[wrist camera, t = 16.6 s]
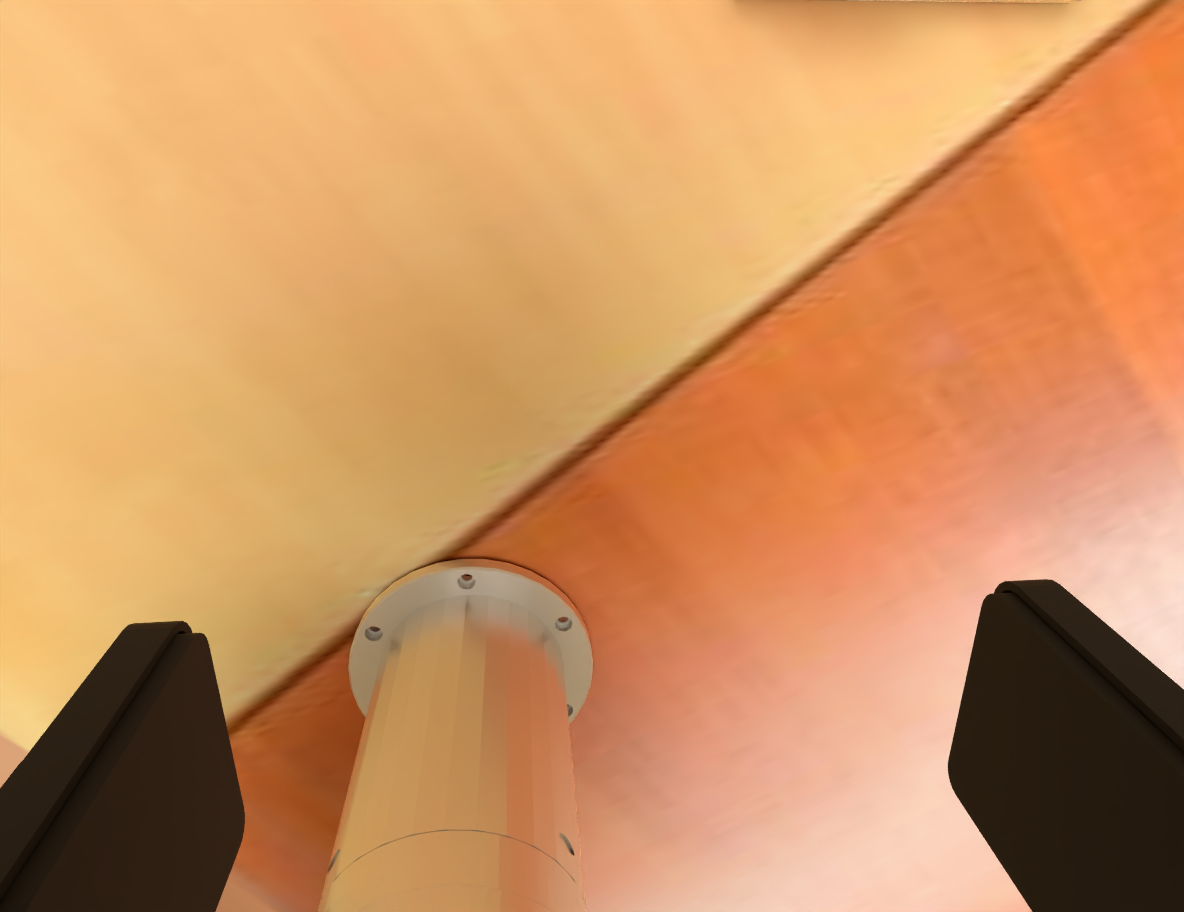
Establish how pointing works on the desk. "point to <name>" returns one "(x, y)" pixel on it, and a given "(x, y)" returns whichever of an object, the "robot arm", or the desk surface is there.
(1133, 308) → the desk surface
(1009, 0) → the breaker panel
